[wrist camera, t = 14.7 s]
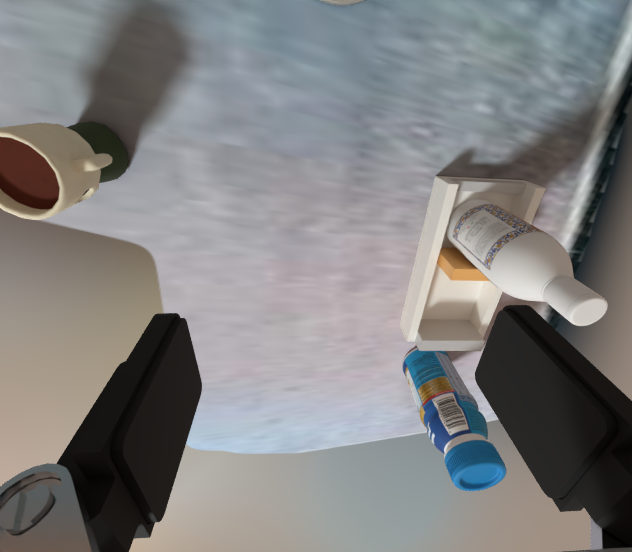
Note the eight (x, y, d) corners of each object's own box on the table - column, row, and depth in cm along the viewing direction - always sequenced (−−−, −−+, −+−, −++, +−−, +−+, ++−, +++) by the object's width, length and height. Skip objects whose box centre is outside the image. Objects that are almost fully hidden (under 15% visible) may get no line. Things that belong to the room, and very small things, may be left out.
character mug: (70, 188, 38) (-22, 228, 27) (37, 123, 35) (-85, 139, 24) (159, 176, 38) (104, 211, 27) (136, 110, 35) (60, 119, 23)
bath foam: (501, 232, 44) (636, 324, 26) (452, 255, 45) (551, 356, 28) (490, 188, 40) (635, 260, 23) (438, 214, 42) (539, 300, 24)
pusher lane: (435, 176, 40) (456, 188, 35) (524, 180, 41) (558, 193, 36) (399, 325, 52) (411, 350, 47) (469, 325, 53) (488, 350, 48)
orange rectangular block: (434, 247, 44) (454, 268, 38) (494, 248, 44) (521, 270, 39) (432, 257, 45) (450, 280, 39) (490, 259, 45) (516, 281, 40)
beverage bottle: (455, 346, 55) (528, 462, 38) (434, 379, 59) (492, 498, 42) (411, 339, 54) (467, 455, 37) (393, 373, 58) (435, 493, 41)
